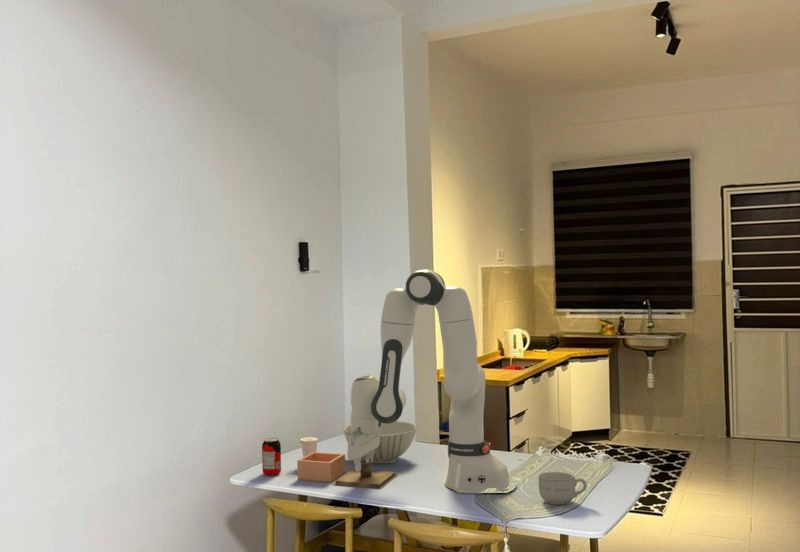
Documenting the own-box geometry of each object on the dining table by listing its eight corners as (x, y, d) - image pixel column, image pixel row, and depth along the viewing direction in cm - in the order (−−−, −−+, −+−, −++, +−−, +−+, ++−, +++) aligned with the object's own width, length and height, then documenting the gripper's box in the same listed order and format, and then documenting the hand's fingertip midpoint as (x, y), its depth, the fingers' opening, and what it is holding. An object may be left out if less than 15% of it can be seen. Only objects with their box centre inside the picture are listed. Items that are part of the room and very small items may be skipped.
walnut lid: (395, 475, 239) (394, 459, 239) (379, 488, 225) (379, 471, 225) (353, 472, 244) (353, 457, 244) (335, 484, 230) (335, 468, 230)
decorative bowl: (391, 474, 243) (391, 438, 243) (329, 464, 257) (328, 431, 258) (430, 456, 266) (429, 424, 266) (370, 448, 280) (370, 417, 280)
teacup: (532, 504, 209) (532, 476, 209) (547, 494, 218) (546, 468, 218) (579, 511, 201) (578, 483, 201) (591, 501, 210) (591, 474, 210)
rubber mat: (398, 476, 240) (398, 474, 240) (381, 491, 224) (381, 489, 224) (352, 472, 245) (352, 471, 245) (331, 486, 229) (331, 485, 229)
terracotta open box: (345, 474, 244) (345, 454, 244) (330, 484, 232) (330, 462, 232) (313, 472, 248) (313, 451, 248) (297, 481, 236) (297, 460, 236)
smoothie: (315, 468, 252) (314, 429, 252) (298, 468, 253) (297, 428, 253) (320, 464, 258) (320, 425, 258) (304, 463, 260) (303, 425, 260)
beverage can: (285, 473, 247) (284, 438, 247) (272, 477, 242) (271, 442, 242) (271, 470, 250) (271, 436, 250) (258, 475, 245) (258, 440, 245)
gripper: (360, 432, 224) (360, 476, 224) (383, 419, 243) (383, 460, 243) (342, 430, 226) (342, 474, 226) (366, 418, 246) (366, 458, 246)
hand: (364, 467), depth 235 cm, fingers open, 8 cm apart
